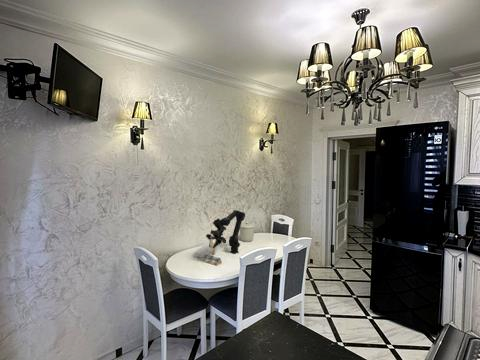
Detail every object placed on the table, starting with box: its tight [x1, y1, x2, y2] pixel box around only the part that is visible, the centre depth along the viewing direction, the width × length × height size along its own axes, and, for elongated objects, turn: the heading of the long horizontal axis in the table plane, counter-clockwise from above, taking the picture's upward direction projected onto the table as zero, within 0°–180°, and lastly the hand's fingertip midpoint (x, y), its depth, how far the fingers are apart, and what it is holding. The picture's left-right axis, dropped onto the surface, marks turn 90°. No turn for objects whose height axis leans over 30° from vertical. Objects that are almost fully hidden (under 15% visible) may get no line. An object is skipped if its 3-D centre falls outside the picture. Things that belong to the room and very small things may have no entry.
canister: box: [239, 221, 256, 243], centre depth 287 cm, size 18×18×21 cm
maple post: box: [209, 239, 216, 256], centre depth 220 cm, size 4×4×13 cm
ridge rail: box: [202, 254, 223, 267], centre depth 221 cm, size 16×6×5 cm, turn 55°
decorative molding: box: [193, 241, 210, 259], centre depth 250 cm, size 34×5×10 cm
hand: (211, 247), depth 219 cm, fingers closed on maple post, 4 cm apart
